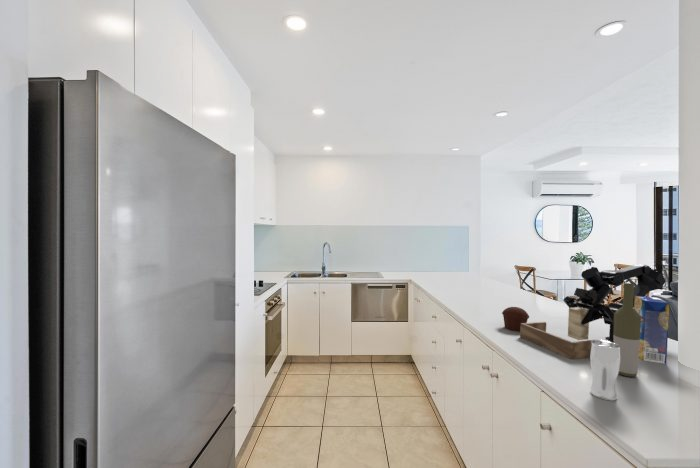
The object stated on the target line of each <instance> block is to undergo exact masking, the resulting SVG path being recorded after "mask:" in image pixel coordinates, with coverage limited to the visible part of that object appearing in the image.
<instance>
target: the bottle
mask: <svg viewBox="0 0 700 468" xmlns="http://www.w3.org/2000/svg"><path fill="white" fill-rule="evenodd" d="M634 287H635V283H630V282H627V283H626V282H624V283H623V285H622V289H623V292H622V293H623V294H622V296H623V298H622V299H623V306H622V307H621V308H620V309H618V310H617V311H616V312H615V313H614V334H613V340H612V341H613V343H616V344H618V345H619V346H620V368H619V373H618V375H621V376H624V377H632V378H633V377H636V376H637V374H638V368H639V343H640V329H641V315H640V314H639V313H638V312H637V311H636V310H635V309H634V308H633V293H634Z"/></svg>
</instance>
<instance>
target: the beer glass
mask: <svg viewBox="0 0 700 468" xmlns="http://www.w3.org/2000/svg"><path fill="white" fill-rule="evenodd" d="M591 340H592V341H591V349H590V357H589V363H590V370H591V379H592V381H591V387H590V390H589V391H590V392H589V393H590V394H591V395H592V396H594V397H595V398H598V399H601V400H604V401H605V400H606V401H612V402H613V401H616V400H617V391H616V384H617V379H618V375H619V374H618V373H619V368H620V346H619V345H618V344H616V343H613V342H611V341H608V340H604V339H603V340H602V339H591Z"/></svg>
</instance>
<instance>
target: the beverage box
mask: <svg viewBox="0 0 700 468" xmlns="http://www.w3.org/2000/svg"><path fill="white" fill-rule="evenodd" d="M634 309H635V310H636V311H637V312H638V313H639V314H640V315H641V329H640V343H639V357H638V359H640V360H641V361H644V362H645V361H646V362H651V363H659V364H665V365H666V364H667V358H668V357H667V356H668V340H669V339H668V338H669V336H668V335H669V319H670V317H669V315H670V302H668V301H667V300H666V301H665V300H663V299H662V298H659V297H654V296H635V303H634Z"/></svg>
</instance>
